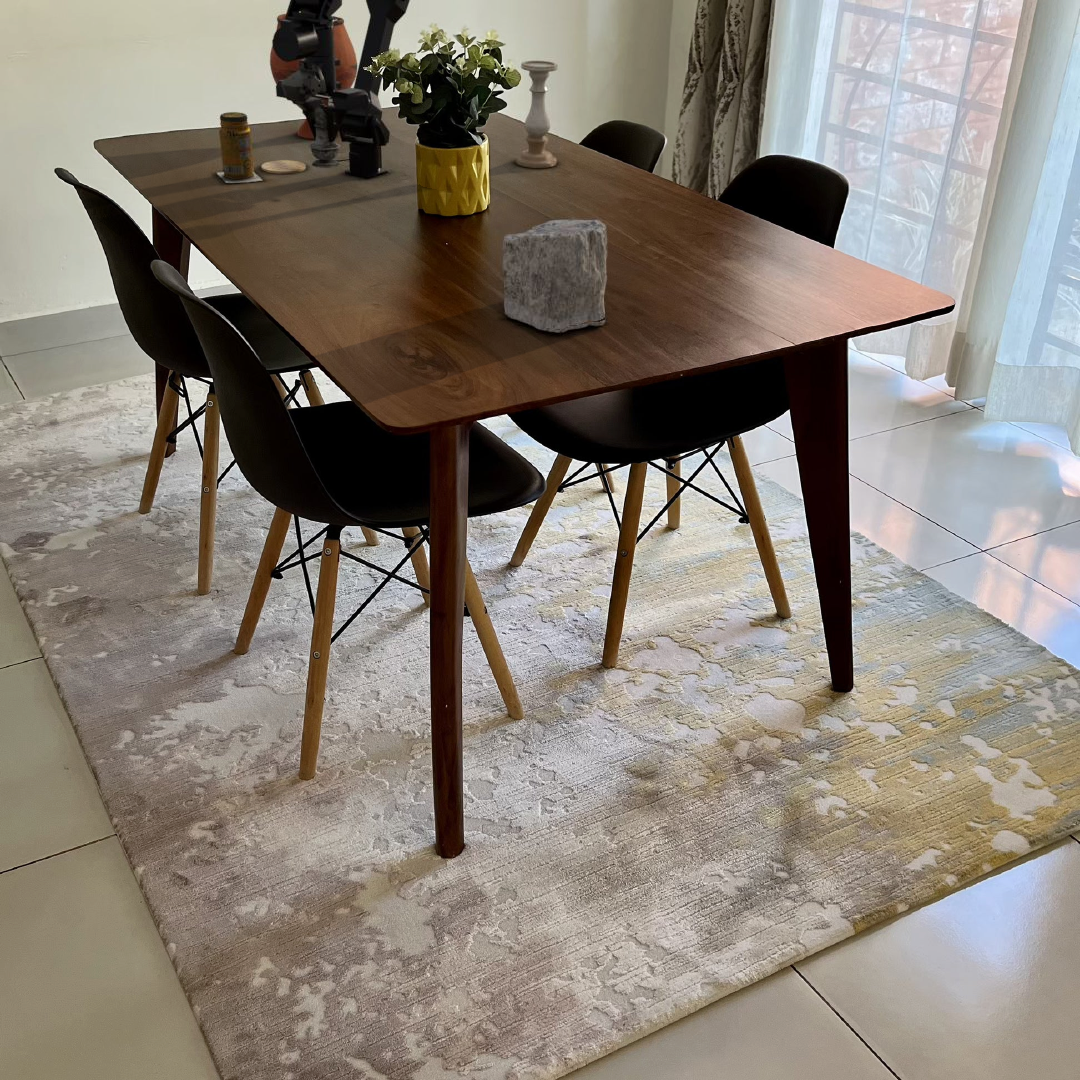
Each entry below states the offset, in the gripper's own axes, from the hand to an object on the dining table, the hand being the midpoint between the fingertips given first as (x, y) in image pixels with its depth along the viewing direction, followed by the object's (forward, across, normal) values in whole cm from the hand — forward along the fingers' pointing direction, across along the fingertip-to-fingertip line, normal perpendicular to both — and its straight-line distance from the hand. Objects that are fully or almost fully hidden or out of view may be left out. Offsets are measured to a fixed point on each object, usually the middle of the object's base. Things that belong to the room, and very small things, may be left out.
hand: (324, 140), depth 228 cm
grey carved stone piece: (+5, 0, 0) cm, 5 cm away
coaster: (+9, -18, +6) cm, 21 cm away
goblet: (+10, -32, +32) cm, 46 cm away
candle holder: (+10, +20, +44) cm, 49 cm away
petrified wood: (+10, +72, -28) cm, 78 cm away
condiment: (+10, -19, -5) cm, 22 cm away
